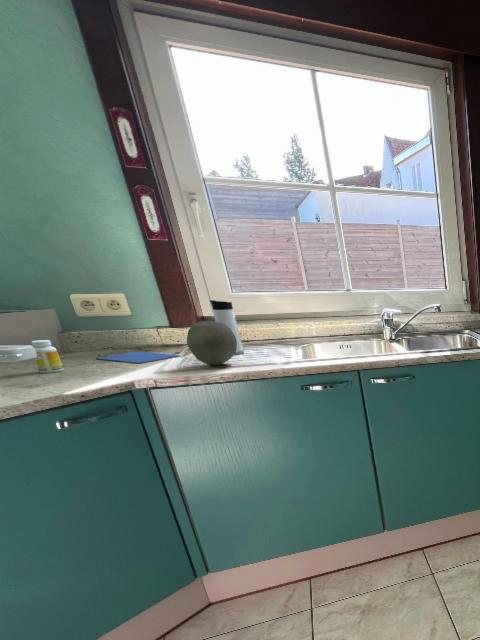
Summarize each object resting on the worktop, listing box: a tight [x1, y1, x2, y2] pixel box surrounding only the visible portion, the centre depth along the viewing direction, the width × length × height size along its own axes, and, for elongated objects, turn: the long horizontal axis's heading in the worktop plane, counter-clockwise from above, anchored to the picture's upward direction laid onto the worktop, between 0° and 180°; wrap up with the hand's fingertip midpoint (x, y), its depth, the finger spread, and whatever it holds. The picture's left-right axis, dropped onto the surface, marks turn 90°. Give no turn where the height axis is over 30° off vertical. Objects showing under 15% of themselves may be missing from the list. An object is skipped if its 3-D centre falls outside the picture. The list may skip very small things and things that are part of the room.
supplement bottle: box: [31, 339, 64, 374], centre depth 155 cm, size 5×5×10 cm
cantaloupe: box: [186, 320, 237, 366], centre depth 168 cm, size 14×14×15 cm
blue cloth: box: [96, 351, 181, 365], centre depth 177 cm, size 20×14×1 cm
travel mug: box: [209, 299, 244, 356], centre depth 185 cm, size 6×7×20 cm
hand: (8, 348), depth 142 cm, fingers open, 8 cm apart
